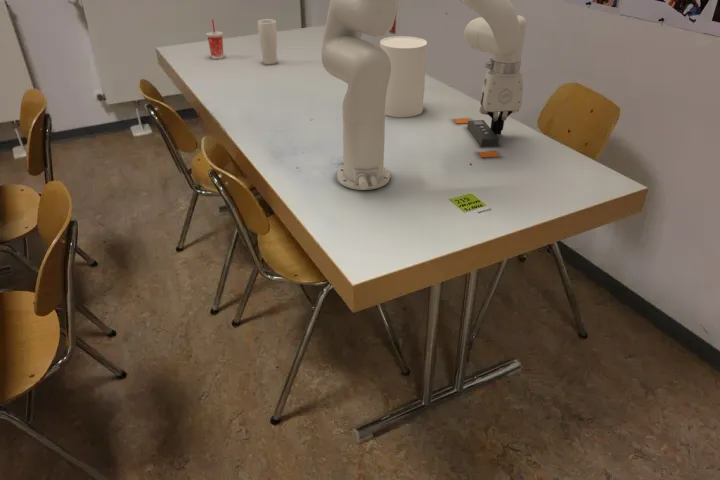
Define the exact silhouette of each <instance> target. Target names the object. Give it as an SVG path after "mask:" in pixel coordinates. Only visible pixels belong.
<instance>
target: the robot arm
mask: <svg viewBox="0 0 720 480" xmlns="http://www.w3.org/2000/svg"><path fill="white" fill-rule="evenodd" d="M399 2H400V0H330V1H329V5H328V10H327V15H326V20H325V26H324V32H323V39H322V44H321V54H320V55H321V63H322V66H323V68H324V70H325V71H326V72H327V73H328V74H329V75H330V76H332V77H334V78H336V79H338V80H341V81H342V82H344V83H346V84H347V90H346V93H345V95H344V98H343V101H342V107H341V108H342V113H341V114H342V151H343V152H342V154H343V156H342V158H343V160H342V161H343V163H342V164H343V166H342V167H341V168H339V169H338V171H337V173H336V179H337V182H338V183H339V184H340V185H341V186H343V187H344V188H345V187H346V188H348V189H351V190H355V191H356V190H357V191H370V190H376V189H380V188H382V187H384V186H386V185H387V184H388V183H389V182H390V179H391V173H390V170H389V169H387V168H386V167H385V138H386V137H385V135H386V134H385V133H386V132H385V131H386V115H385V103H386V93H387V87H388V82H389V78H390V73H391V63H390V59H389V57H388V55H387V53H386V52H385V51H384V50H383V49H382V48H380V45H377V44H375V43H372V42H370V41H367V40H364V39H362V35H363V34H364V35H367V36H371V37H377V38H378V37H383V36H386V35H387V34H388V33H389V32H391V30H392V28H393V26H394V24H395V21H396V16H397V12H398V6H399ZM460 2H462V4H464V5H465V6H467V7H468V8H470V9H471V10H473V11H474V12H476V13H477V14H478V15H479V17H476V18H474V19H472V20H470V21H469V22H468V23H467V24H466V26H465V28H464V31H463V38H464V41H465V43H466V45H467V46H469V47H470V48H472V49H475V50H478V51H480V52H483V53H487V54H491V57H490V59H489V61H488V62H485V64H484V68H485V69H488V70H487V71H486V73H485V77H484V81H483V83H482V89H481V93H480V94H481V95H480V100H479V102H480V108H479V113H480V114H481V115H487V116H489V117H490V119H491V121H490V128H491V129H492V131H493V132H494V133H495V134H496V135H497V136H498V135H499V136H501V135H502V131H503V130H504V125H505V122H506V120H507V118H508V117H510V115H512V114H515V113H518V112H519V111H520V109H521V107H522V102H523V94H524V93H523V92H524V74H523V71H521V64H522V56H523V50H524V43H525V38H526V31H527V19H526V17H524V16H522V15H519V14H517V12H516V9H515V7H514V5H513V4H512V2H511V0H460Z"/></svg>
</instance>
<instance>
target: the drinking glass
mask: <svg viewBox="0 0 720 480" xmlns="http://www.w3.org/2000/svg"><path fill="white" fill-rule="evenodd" d="M277 28H278V27H277V20H276V19H271V18H263V19H259V20H257V34H258V39H259V45H260V50H261V58H262V63H263V64H264V65H275V64H278V63H277V62H278V29H277Z"/></svg>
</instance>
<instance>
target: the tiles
mask: <svg viewBox="0 0 720 480" xmlns="http://www.w3.org/2000/svg"><path fill="white" fill-rule="evenodd" d="M453 121H454V122H455V124H456V125H464V124H468V121H472V120H471V119H470V118H455V119H453ZM478 154H479V156H480V157H481V158H482V159H491V158H500V155H499V154H498V152H497V151H496V150H492V151H479V152H478Z"/></svg>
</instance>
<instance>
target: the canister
mask: <svg viewBox="0 0 720 480" xmlns="http://www.w3.org/2000/svg"><path fill="white" fill-rule="evenodd" d="M379 47H380V48H382V49H383V50H384V51H385V52H386V53H387V55H388V57H389V59H390V63H391V73H390V78H389V82H388V87H387V93H386V103H385V116H388V117H394V118H410V117H416V116H418V115H421V114H422V113H423V112H424V100H425V99H424V97H425V83H426V69H427V68H426V67H427V50H428V41H427V40H425V39H423V38H420V37H417V36H409V35H407V36H406V35H397V36H394V35H393V36H387V37H384V38H382V39H380V41H379Z"/></svg>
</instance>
